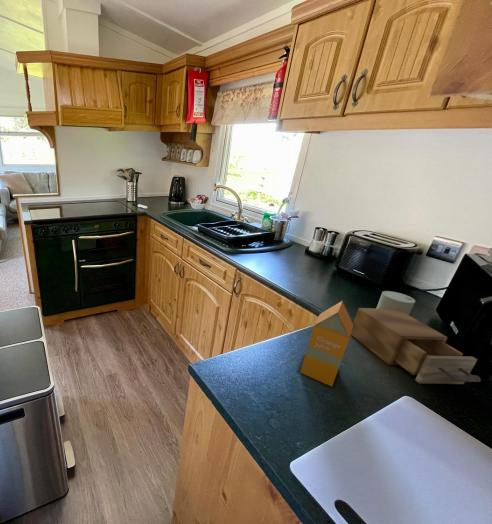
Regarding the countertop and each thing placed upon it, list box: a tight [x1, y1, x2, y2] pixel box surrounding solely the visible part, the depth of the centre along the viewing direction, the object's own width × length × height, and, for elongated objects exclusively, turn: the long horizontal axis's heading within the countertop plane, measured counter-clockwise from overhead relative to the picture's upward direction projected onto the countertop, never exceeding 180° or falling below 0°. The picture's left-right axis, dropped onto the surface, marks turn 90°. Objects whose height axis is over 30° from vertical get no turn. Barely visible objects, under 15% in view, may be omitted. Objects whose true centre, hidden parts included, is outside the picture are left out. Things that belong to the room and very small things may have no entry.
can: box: [375, 290, 416, 316], centre depth 102 cm, size 9×9×12 cm
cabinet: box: [351, 307, 448, 366], centre depth 89 cm, size 16×14×10 cm
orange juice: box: [299, 300, 353, 388], centre depth 75 cm, size 8×9×20 cm
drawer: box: [394, 339, 482, 385], centre depth 79 cm, size 19×13×8 cm
